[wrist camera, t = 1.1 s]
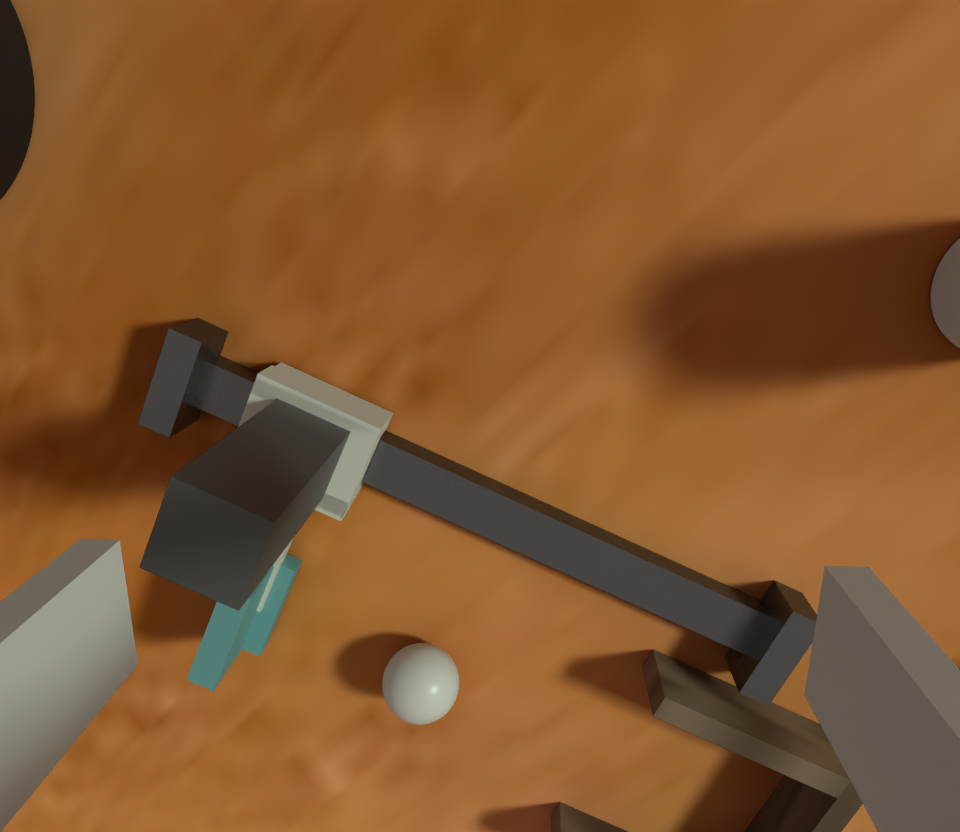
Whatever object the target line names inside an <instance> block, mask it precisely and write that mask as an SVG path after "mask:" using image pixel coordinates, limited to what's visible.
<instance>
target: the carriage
mask: <svg viewBox="0 0 960 832" xmlns="http://www.w3.org/2000/svg"><path fill="white" fill-rule="evenodd" d="M392 415H393V413H391V412H389V411H387V410H385V409H383V408H380V407H378V406H376V405H374V404H372V403H369V402H367V401H365V400H363V399H361V398H359V397H356V396H354V395H352V394H350V393H348V392H345V391H343V390H341V389H339V388H337V387H334V386H332V385H330V384H328V383H326V382H323V381H321V380H319V379H317V378H315V377H312V376H310V375H308V374H306V373H304V372H301V371H299V370H297V369H295V368H293V367H290V366H288V365H286V364H284V363H282V362H281V363H279V364H278V365H276V366H273V365H271V366H269V367H268V368H266V369H264V370H263V371H261V372H259V373H258V374H257V377H256V380H255V382H254V385H253V388H252V391H251V393H250V396H249V399H248V401H247V404H246V407H245V410H244V412H243V415H242V418H241V420H240V423H239V426H238V428H236V429H235V430H234V431H232V432H231V433H230V434H228V435H227V436H226V437H224V438H223V439H221V440H220V441H219V442H217V443H216V444H215V445H213V446H212V447H211V448H209V449H208V450H206V451H205V452H204V453H202V454H201V455H200V456H198V457H197V458H196V459H194V460H193V461H192V462H190V463H189V464H187V465H186V466H185V467H183V468H182V469H181V470H179V471H178V472H177V473H175V474H174V475H172V476H171V478H170V481H169V484H168V487H167V489H166V492H165V495H164V498H163V501H162V504H161V507H160V510H159V513H158V515H157V518H156V521H155V524H154V527H153V530H152V533H151V536H150V539H149V541H148V544H147V547H146V550H145V553H144V556H143V559H142V562H141V564H140V568H142V569H144V570H146V571H149V572H151V573H153V574H156V575H158V576H160V577H162V578H165V579H167V580H169V581H171V582H174V583H176V584H178V585H181V586H183V587H185V588H187V589H190V590H192V591H194V592H197V593H199V594H201V595H203V596H206V597H208V598H210V599H212V600H215V601H217V603H216V605H215V608H214V610H213V613H212V616H211V618H210V621H209V623H208V626H207V628H206V631H205V634H204V636H203V639H202V641H201V644H200V646H199V649H198V652H197V654H196V657H195V659H194V662H193V664H192V667H191V670H190V672H189V675H188V677H187V680H189V681H191V682H193V683H196V684H198V685H200V686H203V687H205V688H207V689H209V690H212V691H214V689H215V688H216V686H217V685H218V683H219V682H220V681H221V679H222V678H223V676H224V675H225V673H226V672H227V670H228V669H229V667H230V666H231V664H232V663H233V661H234V660H235V658H236V657H237V655H238V654H239V652H240V651H241V649H244V650H246V651H248V652H251V653H253V654H255V655H257V656H260V654H261V653H262V651H263V650H264V648H265V646H266V645H267V643H268V641H269V638H270V636H271V634H272V631H273V629H274V626H275V624H276V622H277V619H278V617H279V615H280V612H281V610H282V607H283V605H284V603H285V600H286V598H287V596H288V593H289V591H290V588H291V586H292V584H293V581H294V579H295V577H296V574H297V572H298V569H299V567H300V565H301V562H302V560H300V559H298V558H296V557H294V556H291V555H289V554H287V552H288V550H289V547H290V545H291V543H292V540H293V538H294V536H295V535H296V534H297V532H298V531H299V530H300V528H301V527H302V526H303V524H304V523H305V522H306V520H307V519H308V517H309V516H310V515H311V513H312V512H313V511H314V510H317V511H319V512H321V513H323V514H326V515H328V516H330V517H332V518H334V519H337V520H339V521H342V519H343V518H344V516H345V514H346V513H347V511H348V510H349V508H350V507H351V504H352V502H353V501H354V499H355V498H356V496H357V495H358V493H359V491H360V489H361V487H362V484H363V482H361V481H362V479H363V477H364V474H365V472H366V470H367V467H368V465H369V463H370V460H371V458H372V456H373V453H374V451H375V449H376V447H377V444H378V442H379V440H380V437H381V436H382V434H383V433H384V431H385V430H386V428H387V427H388V424H389V422H390V420H391V417H392Z"/></svg>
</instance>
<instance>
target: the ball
mask: <svg viewBox="0 0 960 832" xmlns="http://www.w3.org/2000/svg"><path fill="white" fill-rule="evenodd" d="M382 690H383V695H384V699H385V701H386V703H387V705H388V707H389V709H390V710H391V711H392V712H393V713H394V714H395V715H396V716H397V717H398V718H400V719H401V720H403V721H405V722H408V723H411V724H419V725H421V724H428V723H431V722H434V721H436V720H438V719H440V718H441V717H443V716H444V715H445V714H446V713H447V712H448V711H449V710H450V709H451V707H452V706H453V704H454V702H455V700H456V698H457V694H458V691H459V675H458V671H457V668H456V665H455V663H454V661H453V660H452V659H451V657H450V656H449V655H448V654H447V653H446V652H445V651H444V650H442V649H441V648H439V647H437V646H435V645H432V644H428V643H415V644H411V645H408V646H406V647H404V648H402V649H401V650H399V651H398V652H397V653H396V654H395V655H394V656H393V657H392V658H391V659H390V661H389V662H388V664H387V666H386V668H385V671H384V675H383V679H382Z"/></svg>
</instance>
